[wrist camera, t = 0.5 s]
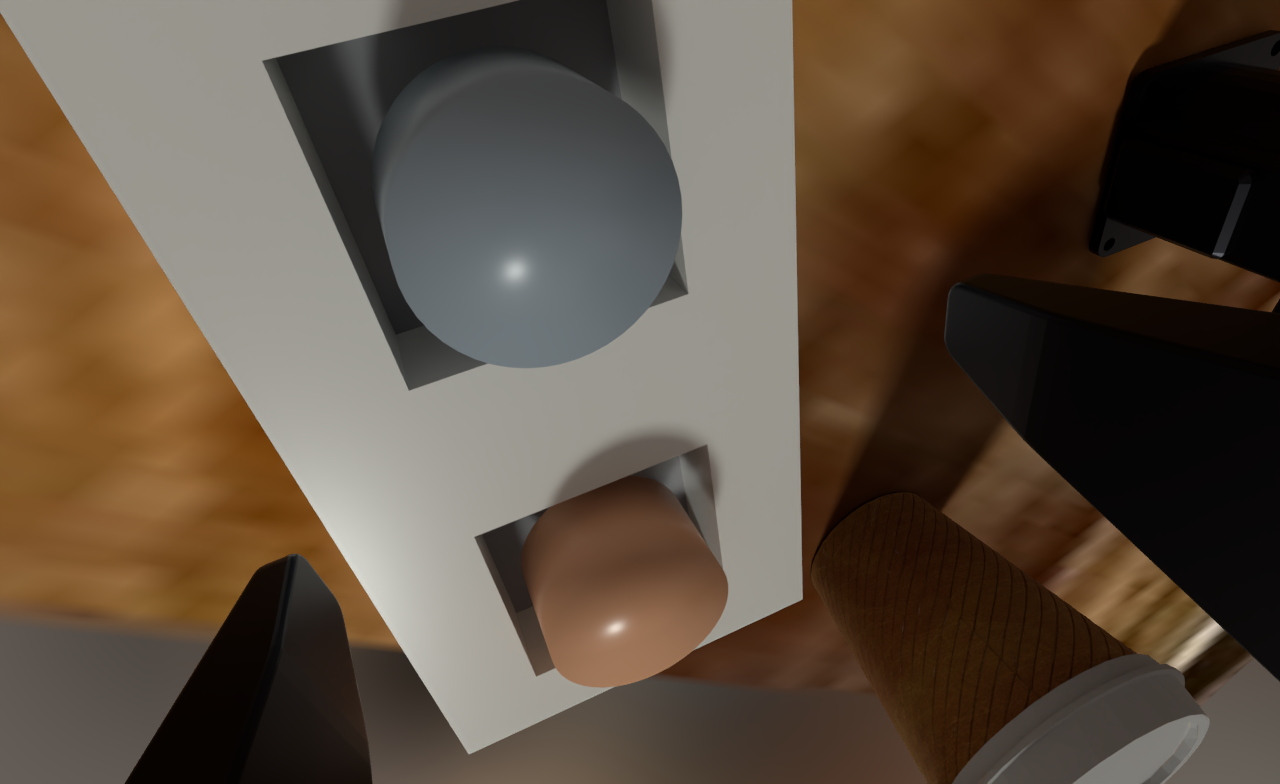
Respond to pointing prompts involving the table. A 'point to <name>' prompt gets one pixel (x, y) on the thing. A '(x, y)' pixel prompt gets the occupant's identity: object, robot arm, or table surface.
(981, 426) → the table surface
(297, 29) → the button panel
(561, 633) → the terracotta button
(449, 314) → the slate-grey button
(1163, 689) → the disposable coffee cup
